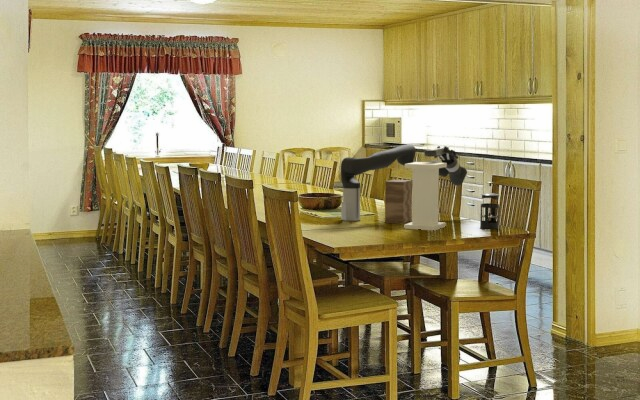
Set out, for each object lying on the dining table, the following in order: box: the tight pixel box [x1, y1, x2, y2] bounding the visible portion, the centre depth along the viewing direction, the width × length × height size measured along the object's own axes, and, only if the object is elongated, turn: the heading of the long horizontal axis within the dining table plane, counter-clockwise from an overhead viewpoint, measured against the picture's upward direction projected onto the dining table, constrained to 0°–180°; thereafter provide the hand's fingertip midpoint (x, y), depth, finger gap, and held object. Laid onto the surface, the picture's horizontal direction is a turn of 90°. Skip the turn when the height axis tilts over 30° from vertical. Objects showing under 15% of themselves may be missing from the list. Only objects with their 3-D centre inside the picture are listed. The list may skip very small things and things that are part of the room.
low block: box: [384, 179, 413, 225], centre depth 437 cm, size 12×10×22 cm
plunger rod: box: [424, 146, 450, 157], centre depth 427 cm, size 26×6×3 cm, turn 152°
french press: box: [479, 181, 500, 230], centre depth 412 cm, size 12×9×23 cm
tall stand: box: [403, 161, 447, 232], centre depth 415 cm, size 16×16×32 cm
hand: (441, 147), depth 433 cm, fingers closed on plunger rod, 3 cm apart
